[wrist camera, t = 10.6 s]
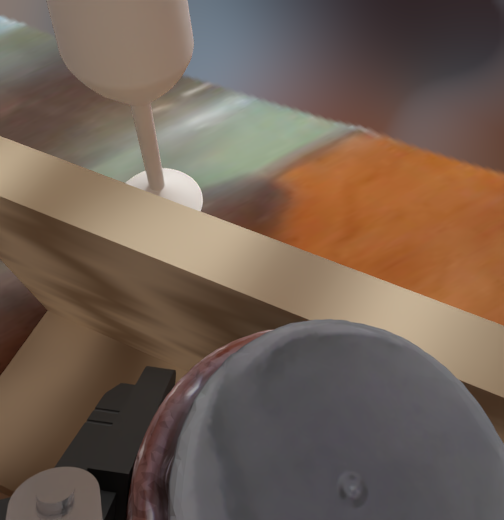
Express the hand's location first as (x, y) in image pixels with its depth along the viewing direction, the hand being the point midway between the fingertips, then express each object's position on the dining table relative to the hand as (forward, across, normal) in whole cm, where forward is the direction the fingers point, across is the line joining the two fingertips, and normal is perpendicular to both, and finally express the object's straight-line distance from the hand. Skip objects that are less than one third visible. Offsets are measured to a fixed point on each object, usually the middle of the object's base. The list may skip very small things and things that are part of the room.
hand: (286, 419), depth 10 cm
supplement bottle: (+3, 0, +5) cm, 6 cm away
